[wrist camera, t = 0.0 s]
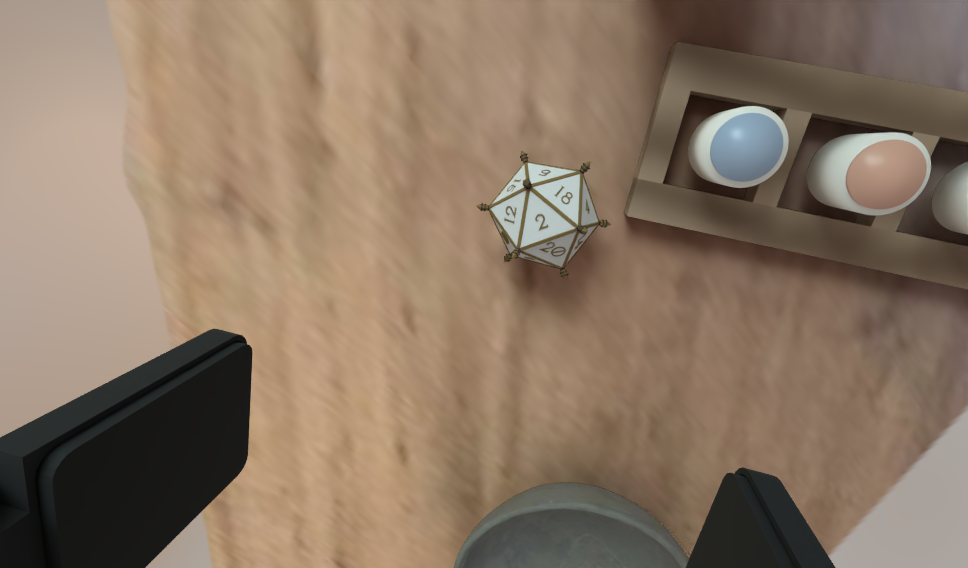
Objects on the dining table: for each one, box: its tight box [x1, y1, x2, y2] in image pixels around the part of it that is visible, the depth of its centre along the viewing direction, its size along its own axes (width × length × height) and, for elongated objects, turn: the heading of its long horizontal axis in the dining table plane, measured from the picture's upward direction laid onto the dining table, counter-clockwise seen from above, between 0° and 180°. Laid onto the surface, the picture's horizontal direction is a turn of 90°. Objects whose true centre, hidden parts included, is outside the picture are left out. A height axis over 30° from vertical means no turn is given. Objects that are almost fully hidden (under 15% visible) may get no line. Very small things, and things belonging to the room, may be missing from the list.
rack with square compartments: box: [624, 42, 968, 289], centre depth 33 cm, size 12×26×2 cm, turn 79°
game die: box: [477, 151, 611, 280], centre depth 35 cm, size 9×8×10 cm
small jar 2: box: [807, 132, 931, 215], centre depth 30 cm, size 5×5×4 cm
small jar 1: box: [688, 106, 789, 188], centre depth 31 cm, size 5×5×4 cm
